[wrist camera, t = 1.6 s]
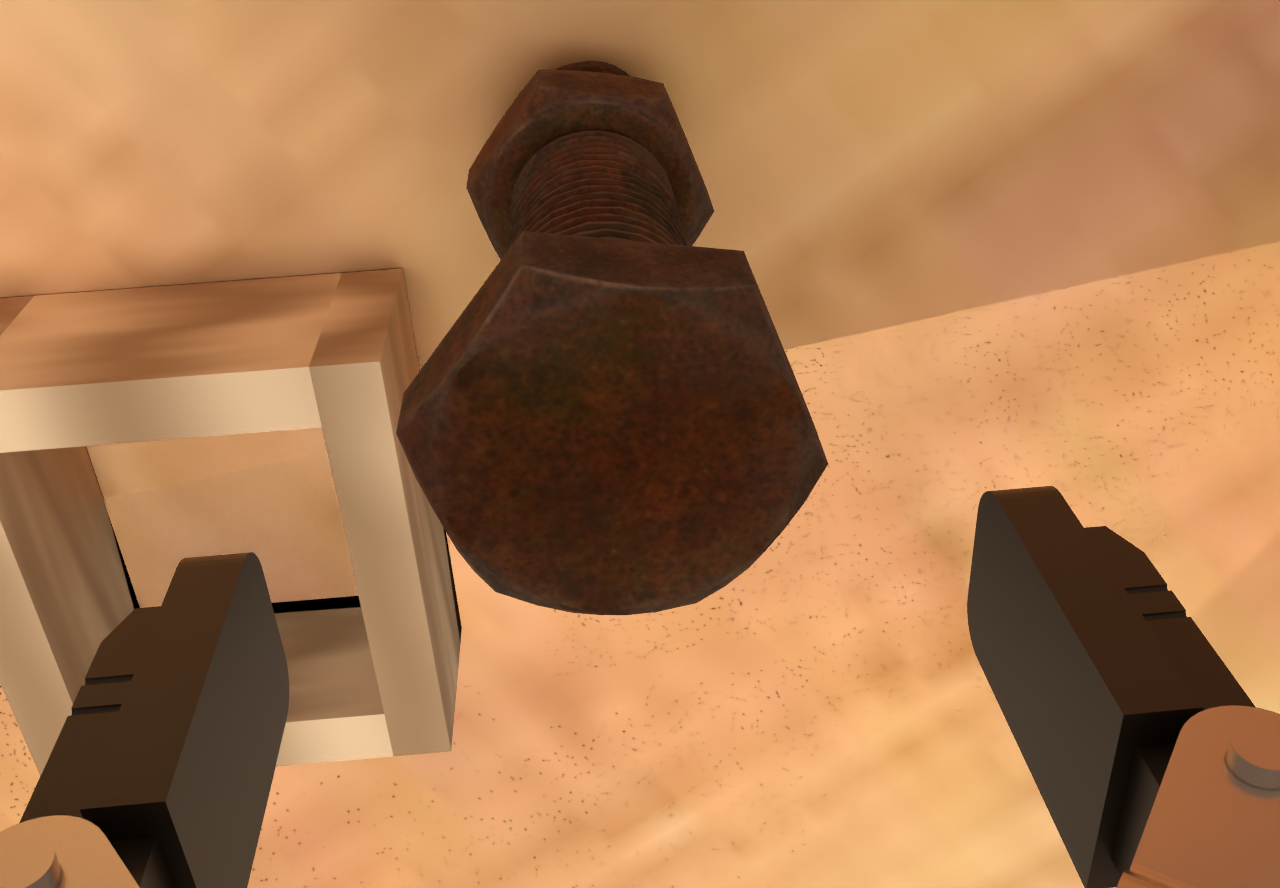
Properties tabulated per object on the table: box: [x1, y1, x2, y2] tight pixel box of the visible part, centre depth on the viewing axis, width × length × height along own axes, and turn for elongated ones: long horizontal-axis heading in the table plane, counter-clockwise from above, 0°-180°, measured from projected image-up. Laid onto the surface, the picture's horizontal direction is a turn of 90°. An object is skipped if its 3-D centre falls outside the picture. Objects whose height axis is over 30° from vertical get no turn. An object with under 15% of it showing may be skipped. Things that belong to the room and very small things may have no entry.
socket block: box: [0, 268, 462, 776], centre depth 31 cm, size 10×12×5 cm
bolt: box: [396, 61, 828, 615], centre depth 22 cm, size 6×5×15 cm
